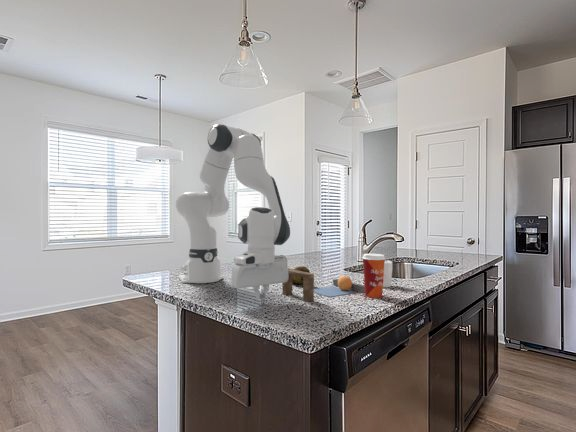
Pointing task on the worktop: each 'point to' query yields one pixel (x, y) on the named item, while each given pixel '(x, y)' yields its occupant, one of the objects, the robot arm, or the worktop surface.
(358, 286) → the grey long bar
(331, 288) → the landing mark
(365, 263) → the coffee cup
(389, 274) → the white cup
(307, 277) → the bridge
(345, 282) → the ball
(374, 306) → the worktop surface
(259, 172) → the robot arm
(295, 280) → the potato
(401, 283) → the worktop surface
